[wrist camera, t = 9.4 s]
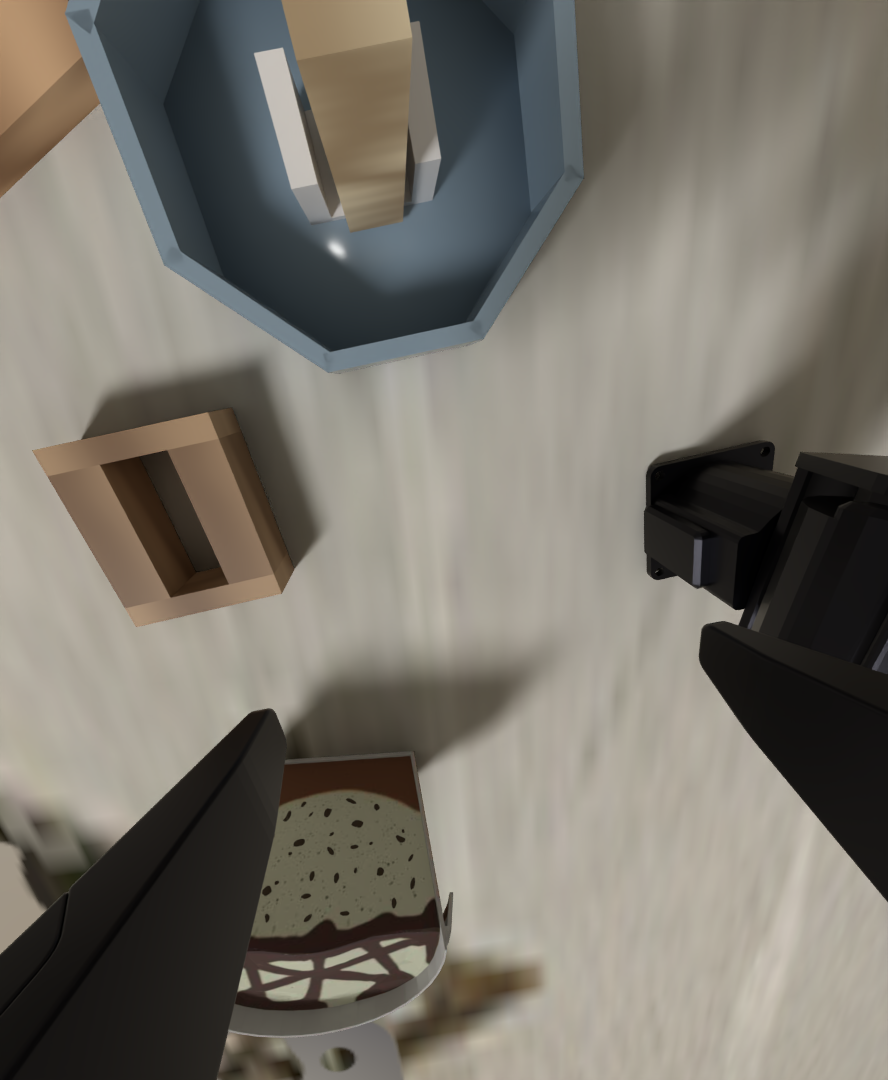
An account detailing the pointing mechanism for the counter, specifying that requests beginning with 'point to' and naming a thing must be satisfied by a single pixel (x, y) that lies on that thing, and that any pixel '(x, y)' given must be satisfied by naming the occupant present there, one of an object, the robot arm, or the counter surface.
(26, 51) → the tapered wooden plank
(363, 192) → the bar
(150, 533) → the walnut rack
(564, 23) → the blue octagonal bowl
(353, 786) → the food container
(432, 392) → the counter surface
